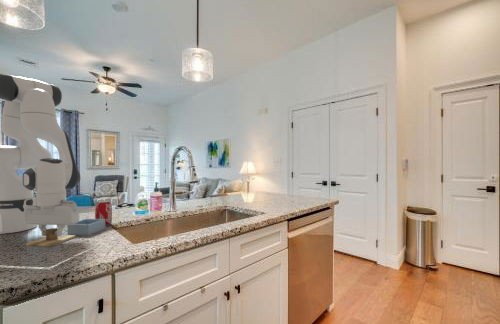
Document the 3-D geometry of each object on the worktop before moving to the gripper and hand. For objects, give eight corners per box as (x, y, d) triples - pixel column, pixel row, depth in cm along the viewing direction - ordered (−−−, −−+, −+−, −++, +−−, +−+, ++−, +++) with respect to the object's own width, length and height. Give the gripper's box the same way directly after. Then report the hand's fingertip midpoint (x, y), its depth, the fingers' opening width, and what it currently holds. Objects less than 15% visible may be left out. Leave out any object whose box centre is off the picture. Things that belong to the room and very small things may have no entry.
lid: (25, 245, 85) (25, 232, 85) (52, 236, 95) (52, 224, 95) (51, 246, 84) (51, 233, 84) (75, 237, 94) (75, 225, 94)
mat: (24, 247, 85) (24, 245, 85) (52, 237, 96) (52, 236, 96) (51, 248, 84) (51, 246, 84) (76, 238, 95) (76, 236, 95)
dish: (67, 236, 97) (67, 224, 97) (85, 229, 107) (85, 218, 107) (88, 236, 96) (88, 224, 96) (105, 230, 106) (105, 219, 106)
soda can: (103, 227, 110) (103, 202, 110) (91, 226, 112) (91, 202, 112) (115, 223, 117) (115, 200, 117) (103, 223, 119) (103, 199, 119)
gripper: (83, 199, 92) (83, 233, 92) (36, 198, 94) (36, 232, 94) (69, 201, 86) (69, 239, 86) (19, 201, 88) (19, 237, 88)
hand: (51, 235), depth 90 cm, fingers open, 4 cm apart
